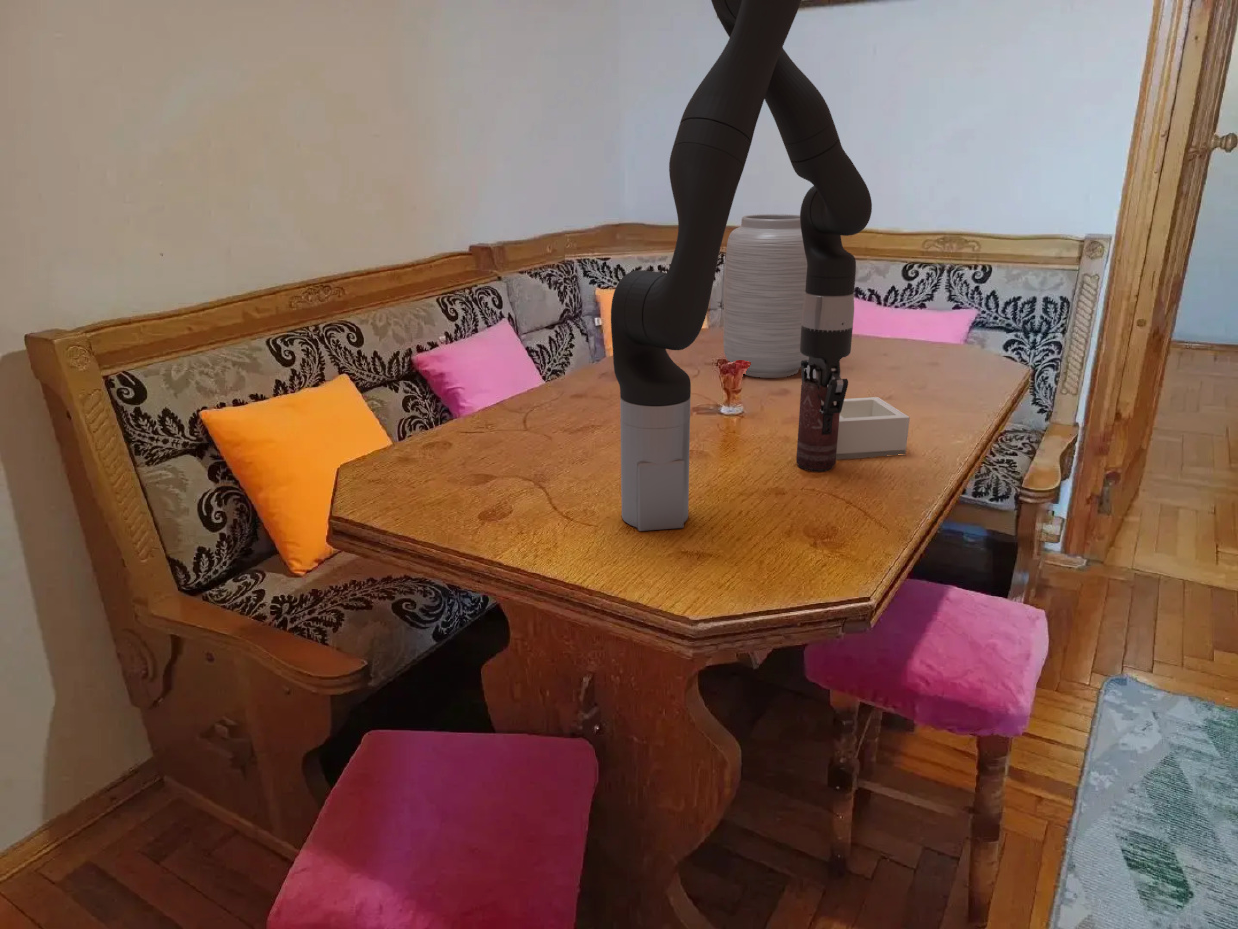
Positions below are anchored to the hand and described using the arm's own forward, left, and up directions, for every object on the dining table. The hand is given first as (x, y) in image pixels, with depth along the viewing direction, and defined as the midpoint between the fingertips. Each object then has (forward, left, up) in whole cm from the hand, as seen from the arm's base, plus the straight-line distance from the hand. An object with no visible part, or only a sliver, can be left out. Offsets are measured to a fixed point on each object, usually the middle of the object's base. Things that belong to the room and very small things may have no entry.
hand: (818, 431), depth 132 cm
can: (0, 0, -6) cm, 6 cm away
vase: (+60, -11, -6) cm, 61 cm away
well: (+8, -10, -6) cm, 14 cm away
